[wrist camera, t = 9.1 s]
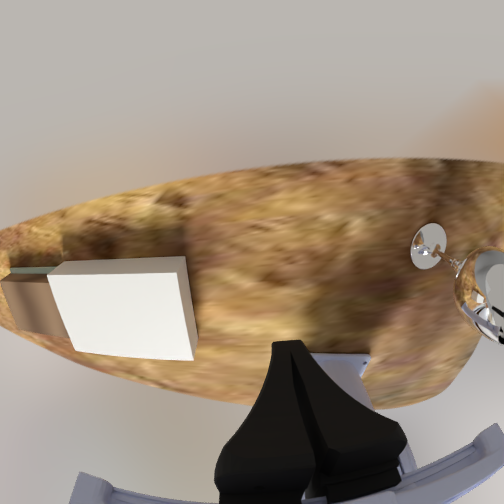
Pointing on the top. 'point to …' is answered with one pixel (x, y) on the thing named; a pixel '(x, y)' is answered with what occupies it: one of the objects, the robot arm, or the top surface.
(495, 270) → the wineglass
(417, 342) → the top surface
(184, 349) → the tray
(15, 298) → the tan cardboard slab
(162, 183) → the top surface
